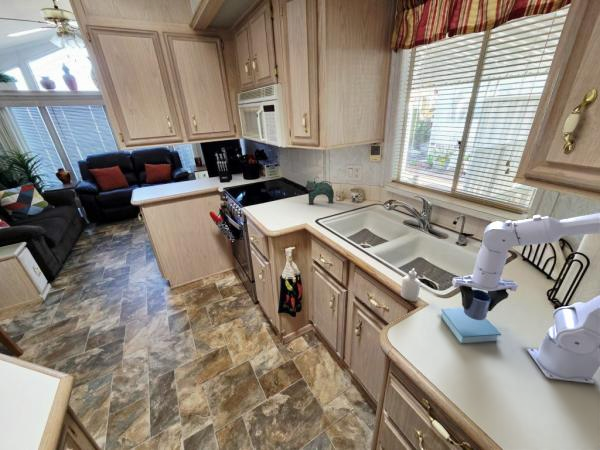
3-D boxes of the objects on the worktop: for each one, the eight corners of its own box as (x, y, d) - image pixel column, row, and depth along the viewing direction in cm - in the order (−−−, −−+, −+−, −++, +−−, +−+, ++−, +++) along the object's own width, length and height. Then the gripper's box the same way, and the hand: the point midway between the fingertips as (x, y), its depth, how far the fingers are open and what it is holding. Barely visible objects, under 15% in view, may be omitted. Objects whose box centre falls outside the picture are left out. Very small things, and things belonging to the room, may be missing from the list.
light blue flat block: (473, 313, 79) (475, 306, 78) (498, 341, 69) (501, 334, 68) (439, 316, 79) (441, 308, 78) (460, 344, 69) (462, 336, 68)
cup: (480, 307, 72) (485, 289, 69) (489, 321, 67) (495, 302, 65) (460, 306, 73) (465, 288, 70) (468, 319, 68) (473, 301, 66)
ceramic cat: (306, 205, 180) (305, 178, 172) (306, 202, 186) (305, 176, 177) (334, 203, 180) (334, 176, 171) (333, 200, 185) (332, 174, 177)
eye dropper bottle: (407, 290, 91) (411, 263, 86) (420, 300, 86) (425, 271, 81) (398, 294, 89) (402, 266, 84) (410, 304, 84) (414, 275, 79)
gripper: (511, 260, 66) (497, 299, 72) (452, 257, 69) (443, 296, 74) (528, 276, 60) (512, 318, 65) (462, 272, 62) (452, 313, 68)
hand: (476, 307), depth 69 cm, fingers closed on cup, 5 cm apart
